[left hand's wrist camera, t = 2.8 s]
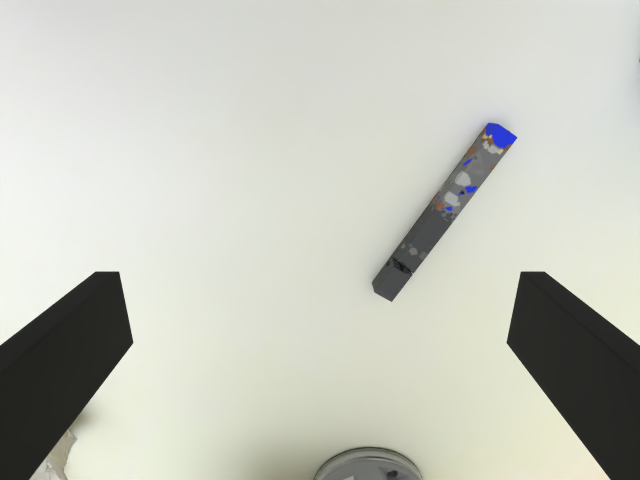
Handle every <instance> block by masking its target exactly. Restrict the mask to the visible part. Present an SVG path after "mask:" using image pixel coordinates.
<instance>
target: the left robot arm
mask: <svg viewBox="0 0 640 480" xmlns="http://www.w3.org/2000/svg"><path fill="white" fill-rule="evenodd" d="M132 344H133V339H132V334H131V329H130V324H129V319H128V314H127V309H126V304H125V299H124V294H123V289H122V284H121V279H120V274H119V272H94V273H93V274H92V275H91V276H89V277H88V278H87V279H85V280H84V281H83V282H82V283H80V284H79V285H78V286H76V287H75V288H74V289H73V290H71V291H70V292H69V293H67V294H66V295H65V296H64V297H62V298H61V299H60V300H58V301H57V302H56V303H55V304H53V305H52V306H51V307H49V308H48V309H47V310H46V311H44V312H43V313H42V314H40V315H39V316H38V317H36V318H35V319H34V320H33V321H31V322H30V323H29V324H27V325H26V326H25V327H24V328H22V329H21V330H20V331H18V332H17V333H16V334H15V335H13V336H12V337H11V338H9V339H8V340H7V341H6V342H4V343H3V344H2V345H0V480H29V479H30V478H31V477H32V475H33V474H34V473H35V472H36V470H37V469H38V468H39V466H40V465H41V464H42V462H43V461H44V460H45V458H46V457H47V456H48V454H49V453H50V452H51V451H52V449H53V448H54V447H55V445H56V444H57V443H58V441H59V440H60V439H61V437H62V436H63V435H64V433H65V432H66V431H67V429H68V428H69V427H70V426H71V424H72V423H73V422H74V420H75V419H76V418H77V416H78V415H79V414H80V412H81V411H82V410H83V408H84V407H85V406H86V404H87V403H88V402H89V401H90V399H91V398H92V397H93V395H94V394H95V393H96V391H97V390H98V389H99V387H100V386H101V385H102V383H103V382H104V381H105V380H106V378H107V377H108V376H109V374H110V373H111V372H112V370H113V369H114V368H115V366H116V365H117V364H118V362H119V361H120V360H121V358H122V357H123V356H124V355H125V353H126V352H127V351H128V349H129V348H130V347H131V345H132ZM507 344H508V345H509V347H510V348H511V349H512V351H513V352H514V353H515V355H516V356H517V357H518V358H519V360H520V361H521V362H522V364H523V365H524V366H525V368H526V369H527V370H528V372H529V373H530V374H531V376H532V377H533V378H534V380H535V381H536V382H537V383H538V385H539V386H540V387H541V389H542V390H543V391H544V393H545V394H546V395H547V397H548V398H549V399H550V401H551V402H552V403H553V405H554V406H555V407H556V408H557V410H558V411H559V412H560V414H561V415H562V416H563V418H564V419H565V420H566V422H567V423H568V424H569V426H570V427H571V428H572V429H573V431H574V432H575V433H576V435H577V436H578V437H579V439H580V440H581V441H582V443H583V444H584V445H585V447H586V448H587V449H588V451H589V452H590V453H591V454H592V456H593V457H594V458H595V460H596V461H597V462H598V464H599V465H600V466H601V468H602V469H603V470H604V472H605V473H606V474H607V475H608V477H609V478H610V479H611V480H640V345H638V344H637V343H636V342H634V341H633V340H632V339H631V338H629V337H628V336H627V335H625V334H624V333H623V332H622V331H620V330H619V329H618V328H616V327H615V326H614V325H613V324H611V323H610V322H609V321H607V320H606V319H605V318H604V317H602V316H601V315H600V314H598V313H597V312H596V311H594V310H593V309H592V308H591V307H589V306H588V305H587V304H585V303H584V302H583V301H582V300H580V299H579V298H578V297H576V296H575V295H574V294H573V293H571V292H570V291H569V290H567V289H566V288H565V287H564V286H562V285H561V284H560V283H558V282H557V281H556V280H555V279H553V278H552V277H551V276H549V275H548V274H547V273H546V272H521V274H520V279H519V284H518V289H517V294H516V299H515V304H514V309H513V314H512V319H511V324H510V329H509V334H508V339H507ZM314 480H422V477H421V475H420V472H419V471H418V469H417V468H416V466H415V465H414V464H413V463H412V462H411V461H409V460H408V459H407V458H405V457H403V456H402V455H400V454H398V453H395V452H392V451H389V450H384V449H378V448H362V449H355V450H351V451H347V452H344V453H342V454H339V455H337V456H335V457H334V458H332V459H330V460H329V461H328V462H326V463H325V464H324V465H323V466H322V467H321V468H320V470H319V471H318V472H317V474H316V476H315V478H314Z"/></svg>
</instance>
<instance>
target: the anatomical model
mask: <svg viewBox="0 0 640 480" xmlns="http://www.w3.org/2000/svg"><path fill="white" fill-rule="evenodd" d="M76 440H77V438H76V437H75V436H74V435H73V434H72V433H71V432H70V431H69V430H68V429H67V431H66V432H65V433H64V435H63V436H62V437H61V439H60V440H59V441H58V443H57V444H56V445H55V447H54V448H53V449H52V451H51V452H50V453H49V454H48V456H47V457H46V458H45V460H44V461H43V462H42V464H41V465H40V466H39V468H38V469H37V470H36V472H35V473H34V474H33V475H32V477H31V478H30V479H29V480H51V479H50V472H49V471H46V469H47V467H48V466H49V468H53V469H54V470H55V472H56V473H57V475H58V477H59V478H60V480H68V479H67V477H66V476H65V474H64V466H65V465H66V463H67V459H68V455H69V452H70V449H71V447H72V445H73V444H74V443H75V442H76Z"/></svg>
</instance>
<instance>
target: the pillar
mask: <svg viewBox="0 0 640 480" xmlns="http://www.w3.org/2000/svg"><path fill="white" fill-rule="evenodd" d="M516 139H517V137H516V136H515V135H513V134H512V133H510V131H508V130H506V129H505V128H503V127H502V126H500V125H499V124H493V123H488V125H487V126H486V127H485V129H484V130H483V132H482V133H481V134H480V136H479V137H478V138H477V140H476V141H475V142H474V144H473V145H472V147H471V148H470V149H469V151H468V152H467V153H466V155H465V156H464V158H463V159H462V160H461V162H460V163H459V164H458V166H457V167H456V168H455V170H454V171H453V173H452V174H451V175H450V177H449V178H448V179H447V181H446V182H445V184H444V185H443V186H442V188H441V189H440V190H439V192H438V193H437V195H436V196H435V197H434V199H433V200H432V201H431V203H430V204H429V205H428V207H427V208H426V210H425V211H424V212H423V214H422V215H421V216H420V218H419V219H418V221H417V222H416V223H415V225H414V226H413V227H412V229H411V230H410V232H409V233H408V234H407V236H406V237H405V238H404V240H403V241H402V242H401V244H400V245H399V247H398V248H397V249H396V251H395V252H394V253H393V255H392V256H391V258H390V259H389V260H388V262H387V263H386V264H385V266H384V267H383V269H382V270H381V271H380V273H379V274H378V275H377V277H376V278H375V279H374V281H373V282H372V285H373V288H374V292H375V293H377V294H378V295H380V296H382V297H384V298H386V299H387V300H389V301H391V302H392V301H393V300H394V298H395V297H396V296H397V294H398V293H399V292H400V290H401V289H402V288H403V286H404V285H405V284H406V283H407V281H408V280H409V279H410V277H411V276H412V275H413V274H412V273H414V272H415V271H416V269H417V268H418V267H419V266H420V264H421V263H422V262H423V260H424V259H425V258H426V256H427V255H428V254H429V252H430V251H431V250H432V249H433V247H434V246H435V245H436V243H437V242H438V241H439V239H440V238H441V237H442V235H443V234H444V233H445V232H446V230H447V229H448V228H449V226H450V225H451V224H452V222H453V221H454V220H455V218H456V217H457V216H458V215H459V213H460V212H461V211H462V209H463V208H464V207H465V205H466V204H467V203H468V201H469V200H470V199H471V198H472V196H473V195H474V194H475V192H476V191H477V190H478V188H479V187H480V186H481V184H482V183H483V182H484V181H485V179H486V178H487V177H488V175H489V174H490V173H491V171H492V170H493V169H494V167H495V166H496V165H497V164H498V162H499V161H500V160H501V158H502V157H503V156H504V154H505V153H506V152H507V150H508V149H509V148H510V147H511V145H512V144H513V143H514V141H515V140H516Z"/></svg>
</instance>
